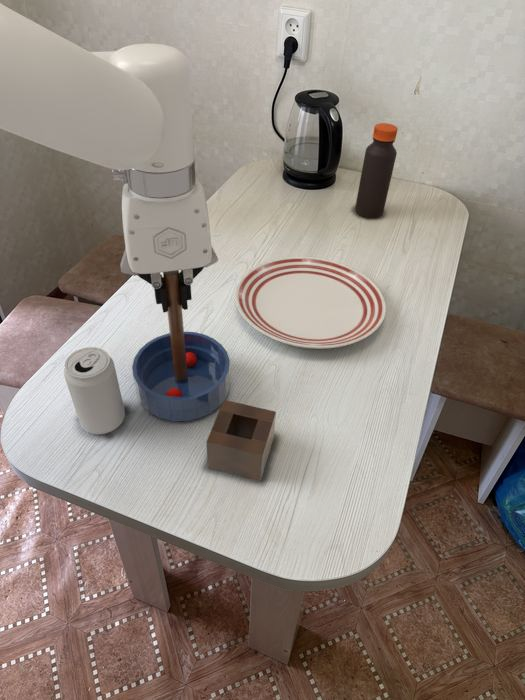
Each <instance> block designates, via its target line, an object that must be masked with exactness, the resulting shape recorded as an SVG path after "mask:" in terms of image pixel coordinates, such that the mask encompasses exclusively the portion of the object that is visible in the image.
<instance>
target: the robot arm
mask: <svg viewBox="0 0 525 700" xmlns="http://www.w3.org/2000/svg"><path fill="white" fill-rule="evenodd" d="M190 68H191V67H190V64H189V60H188V58H187V56H186V55H185V53H184V52H182V51H181V50H180V49H178V48H177V47H173V46H170V45H167V44H162V43H134V44H130V45H126V46H124V47H121V48H119V49H118V50H110V51H89V50H87V49H85V48H83V47H82V46H80V45H78V44H76V43H74V42H72V41H70V40H68V39H66V38H65V37H63V36H61V35H59V34H57V33H55V32H54V31H52V30H50V29H48V28H47V27H44V26H42V25H41V24H39V23H37V22H36V21H33V20H32V19H30V18H28V17H27V16H24V15H22V14H21V13H18V12H17V11H15V10H13V9H11V8H9V7H8V6H6V5H4V4H3V3H1V2H0V129H1V130H3V131H5V132H8V133H11V134H13V135H16V136H18V137H20V138H24V139H26V140H29V141H31V142H34V143H36V144H39V145H41V146H43V147H46V148H49V149H52V150H54V151H57V152H61V153H62V154H66V155H69V156H72V157H75V158H78V159H81V160H84V161H87V162H88V163H89V162H90V163H92V164H95V165H98V166H101V167H104V168H108V169H111V172H112V178H113V181H120V182H124V184H123V186H122V193H121V214H122V216H121V217H122V220H121V221H122V229H123V230H122V231H123V238H124V251H123V254H122V257H121V261H120V263H119V264H120V265H119V266H120V272H121V273H122V274H124V275H130V276H134V277H136V276H138V278H140V279H142V280H143V281H145V282H147V283H148V284H150V285H151V286H152V288H153V290H154V299H155V303H156V305H161V307H162V308H161V309H162V313H164V314H165V313H168V312H167V311H168V302H167V292H166V286H165V283H164V277H163V274H161V273H163V272H169V271H177V270H179V281H180V282H179V284H180V296H181V306H182V310H183V311H184V310H185V311H186V310H188V309H189V307H188V306H189V305H188V301H191V300H193V299H192V284H193V283H194V279H195V278H197V276H198V275H199V274H200V273H201V272H203V270H204V269H205V268H208V267H210V266H212V265H215V264H217V263H218V262H219V256H218V255H217V253H216V250H215V249H214V247H213V245H212V235H211V226H210V225H211V224H210V217H209V209H208V204H207V197H206V193H205V190H204V187H203V185H202V184H201V181H200V180H199V179H197V178H196V163H195V162H196V161H195V140H194V124H193V123H194V121H193V120H194V118H193V99H192V82H191V81H192V80H191V70H190Z"/></svg>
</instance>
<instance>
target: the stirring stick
mask: <svg viewBox="0 0 525 700" xmlns="http://www.w3.org/2000/svg"><path fill="white" fill-rule="evenodd" d="M179 273H180V270H177V271H169V272H162V277H164V283H165V286H166V292H167V302H168V311H167V312H166V313H167V320H168V329H169V333H170V339H171V348H172V357H173V366H174V375H175V379H176V380H177V381H180V382H182V381H185V380H186V379H187V378H188V374H187V362H186V350H185V339H184V332H185V330H184V329H185V328H184V317H183V309H182V306H181V296H180V284H179V282H180V281H179Z"/></svg>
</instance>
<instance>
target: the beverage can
mask: <svg viewBox="0 0 525 700" xmlns="http://www.w3.org/2000/svg"><path fill="white" fill-rule="evenodd" d="M109 354H110V353H108V352H107V351H106V350H105V349H102V348H101V347H96V346H88V347H83V348H82V347H81V348H80V349H77V350H75V351H73V352H72V353H71V354H69V356H68V357H66V359H65V362H64V370H63V376H64V379H65V383H66V385H67V388H68V391H69V395H70V398H71V401H72V404H73V407H74V410H75V413H76V416H77V419H78V422H79V425H80V426H81V428H82V429H83V430H84V431H85V432H86V433H89V434H92V435H103V434H108V433H111V432H113V431H114V430H116V429H118V428H119V427H120V426H121V425H122V424H123V422H124V420H125V417H126V411H125V406H124V400H123V397H122V392H121V387H120V384H119V379H118V375H117V374H118V373H117V370H116V366H115V362H114V360H113V358H112V357H111V356H110V355H109Z"/></svg>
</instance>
